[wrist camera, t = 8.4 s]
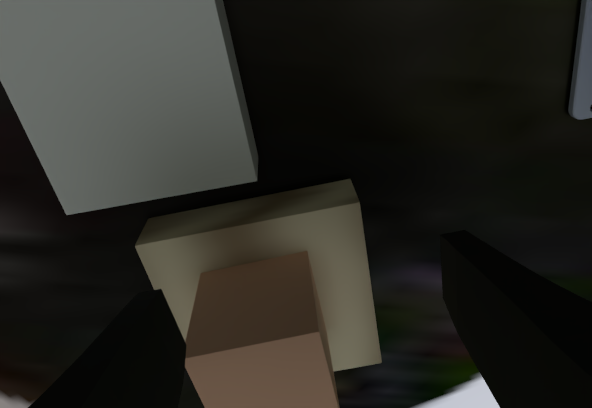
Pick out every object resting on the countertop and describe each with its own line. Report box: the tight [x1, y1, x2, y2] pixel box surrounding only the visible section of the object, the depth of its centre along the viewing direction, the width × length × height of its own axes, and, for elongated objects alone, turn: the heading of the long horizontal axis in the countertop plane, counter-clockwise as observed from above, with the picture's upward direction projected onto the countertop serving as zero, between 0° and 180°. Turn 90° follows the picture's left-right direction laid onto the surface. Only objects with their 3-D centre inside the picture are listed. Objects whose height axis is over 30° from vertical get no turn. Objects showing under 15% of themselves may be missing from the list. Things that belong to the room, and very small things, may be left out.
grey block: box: [0, 0, 258, 215], centre depth 17 cm, size 8×8×3 cm
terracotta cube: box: [185, 251, 339, 408], centre depth 19 cm, size 5×5×5 cm
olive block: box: [135, 179, 382, 371], centre depth 22 cm, size 10×10×3 cm
